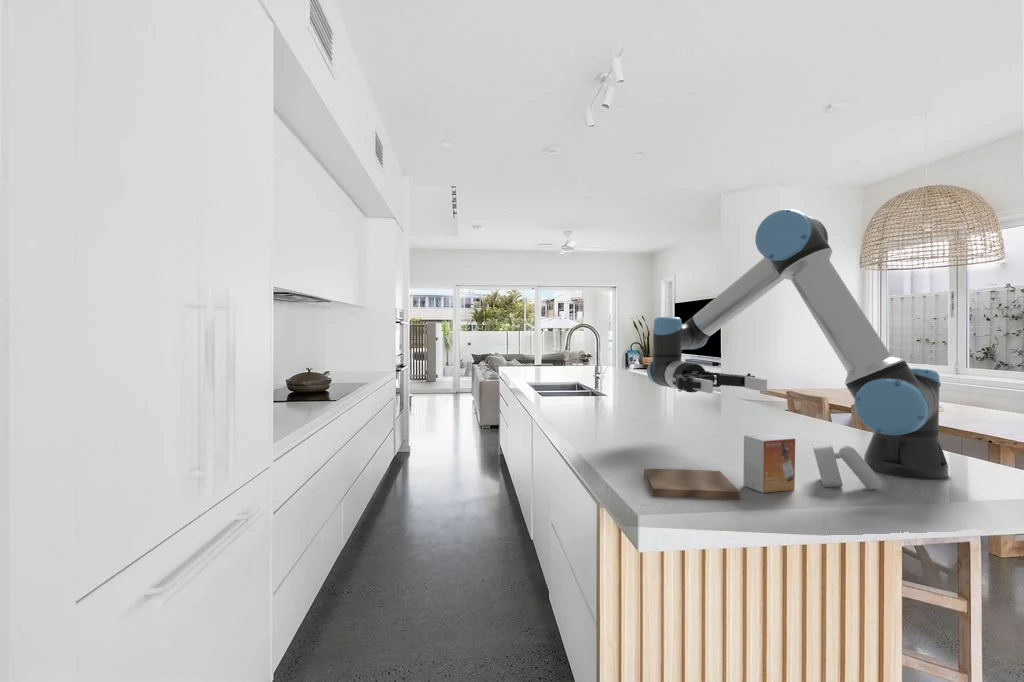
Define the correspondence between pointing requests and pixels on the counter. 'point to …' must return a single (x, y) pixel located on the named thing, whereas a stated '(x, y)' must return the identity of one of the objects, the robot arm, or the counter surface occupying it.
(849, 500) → the counter surface
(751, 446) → the small box
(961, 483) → the counter surface
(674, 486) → the board
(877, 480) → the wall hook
